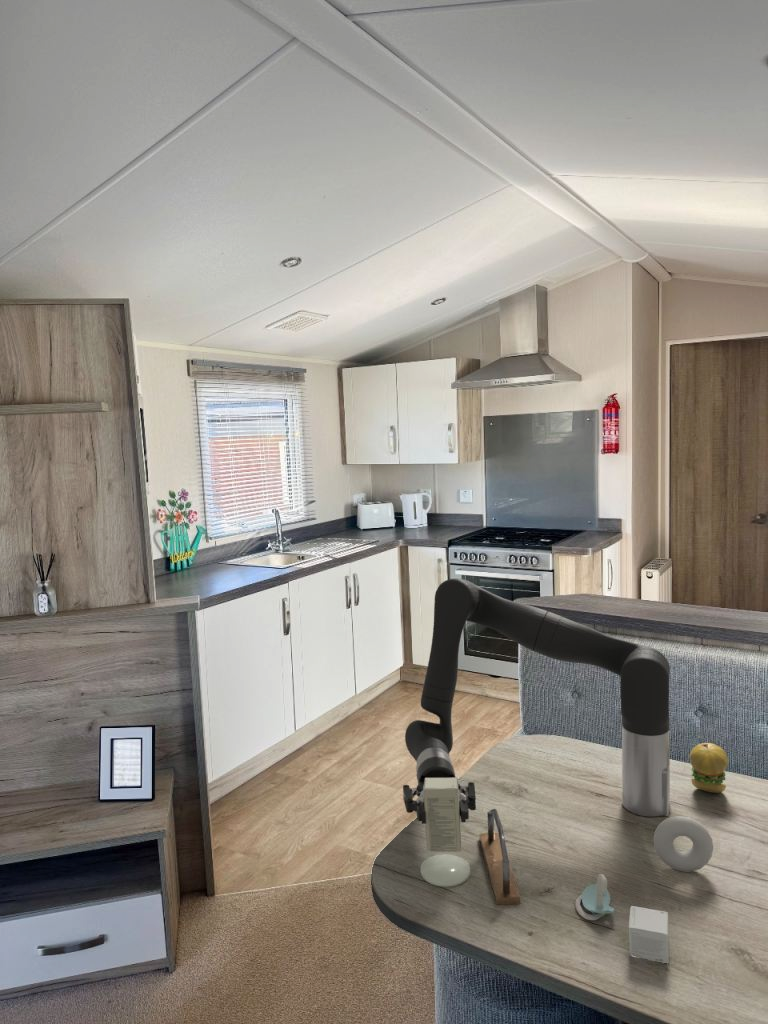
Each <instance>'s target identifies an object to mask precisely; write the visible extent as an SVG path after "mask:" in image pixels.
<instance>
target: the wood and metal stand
mask: <svg viewBox="0 0 768 1024" xmlns="http://www.w3.org/2000/svg"><path fill="white" fill-rule="evenodd" d="M495 825H496V828H497V832H495ZM478 834H479V842H480V847H481V850H482V853H483V857H484V861H485V864H486V869H487V873H488V876H489V880H490V883H491V887H492V890H493V894H494V895H493V896H494V897H495V903H496V905H497V906H498V905H514V904H515V905H517V904H519V905H520V904H521V903H522V902H521V894H520V891H519V889H518V885H517V882H516V881H517V880H516V879H515V876H514V873H513V870H512V866H511V863H510V860H509V856H508V850H507V845H506V839H505V834H504V827H503V825H502V822H501V819H500V816H499V814H498V811H497V809H496V808H492V809H490V810H488V811H487V832H486V833H485V832H484V833H478Z"/></svg>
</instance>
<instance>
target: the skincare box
mask: <svg viewBox="0 0 768 1024" xmlns="http://www.w3.org/2000/svg"><path fill="white" fill-rule="evenodd" d="M455 777H456V776H455ZM458 783H459V777H456V778H453V777H444V778H425V781H424V788H423V789H424V805H425V817H426V824H425V836H426V838H425V839H426V852H428V853H430V852H431V853H440V852H441V853H458V852H459V853H460V852H461V851H462V833H461V831H462V830H461V817H460V809H459V790H458Z"/></svg>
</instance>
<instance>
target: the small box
mask: <svg viewBox="0 0 768 1024" xmlns="http://www.w3.org/2000/svg"><path fill="white" fill-rule="evenodd" d="M628 919H629V921H628V945H629V946H628V949H629V950H628V951H629V952H628V953H629V954H630V955H633V956H636V957H639V958H638V959H640V958H645V959H649V960H648V961H650V960H654V961H653V962H655V961H657V962H656V963H659V962H663V963H662V964H664V963H667V964H666V965H668V964H669V959H670V931H669V929H670V928H669V912H667V911H663V910H658V909H651V908H646V907H641V906H635V905H631V906H630V908H629V917H628ZM630 955H629V956H630ZM645 959H644V960H645Z"/></svg>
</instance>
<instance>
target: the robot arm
mask: <svg viewBox="0 0 768 1024" xmlns="http://www.w3.org/2000/svg"><path fill="white" fill-rule="evenodd" d="M434 593H435V594H434V602H433V603H434V604H433V605H434V606H433V607H434V609H433V628H432V639H431V646H430V651H429V658H428V662H427V667H426V673H425V677H424V681H423V682H424V683H423V688H422V692H421V696H420V697H421V698H420V706H421V708H422V709H423V710H424V711H427V712H429V713H431V714H434V715H435V716H437V717H438V718H439V719H438V720H439V723H437V722H431V721H426V720H421V719H416V720H414V721H412V722H410V723H409V724H408V726H407V727H406V730H405V734H404V741H405V742H404V743H405V746H406V749H407V751H408V752H409V754H410V755H411V756H412V758H413V759H414V760H415V762H416V766H415V769H416V774H415V775H416V776H415V777H416V779H417V786H416V787H413V788H412V787H410V785H408V784H404V785H402V799H403V804H404V806H405V811H406V813H409V814H410V813H411V814H412V813H413V812H415V813H416V817H417V818H416V819H417V821H418V822H421V824H422V825H426V817H425V805H424V789H423V788H424V781H425V778H444V777H453V778H456V773H455V768H454V764H453V761H452V759H451V757H450V753H451V751H452V749H453V745H454V739H453V738H454V737H453V728H452V727H453V726H452V708H453V701H454V697H455V692H456V687H457V681H458V673H459V653H460V652H459V650H460V644H461V643H460V642H461V638H462V634H463V630H464V628H465V624H466V622H471V623H473V624H478V625H481V626H484V627H487V628H489V629H493V630H494V631H497V632H498V633H500V634H502V635H503V636H505V637H506V638H508V639H509V640H511V641H513V642H515V643H517V644H519V645H520V646H522V647H524V648H525V649H528V650H530V651H532V652H535V653H538V654H539V655H542V656H545V657H547V658H550V659H553V660H557V661H561V662H567V663H574V664H584V665H591V666H594V667H598V668H601V669H603V670H606V671H609V672H610V673H613V674H615V675H617V676H620V681H619V683H620V715H621V738H622V739H621V751H622V752H621V753H622V754H621V756H622V757H621V759H622V760H621V761H622V763H621V765H622V766H621V773H622V776H621V777H622V778H621V779H622V780H621V782H622V787H621V788H622V789H621V790H622V791H621V792H622V793H621V795H622V796H621V797H622V800H621V801H622V806H623V807H624V808H625V810H628V812H631V813H632V814H635V815H638V816H642V817H643V816H644V817H653V818H654V817H660V816H665V817H668V816H669V813H670V803H671V801H670V800H671V798H670V797H671V760H670V675H671V672H670V671H671V668H670V663H669V661H668V659H667V657H666V656H665V655H664V654H663V653H662V652H661V651H659V650H658V649H656V648H654V647H651V646H647V645H643V644H639V643H636V642H633V641H629V640H625V639H621V638H617V637H614V636H611V635H608V634H605V633H602V632H601V631H599V630H596V629H593V628H591V627H590V626H589V627H588V626H587V625H584V624H581V623H579V622H577V621H574V620H571V619H570V618H566V617H564V616H562V615H559V614H556V613H553V612H551V611H548V610H546V609H542V608H539V607H535V606H532V605H530V604H525V603H523V602H522V603H521V602H517V601H513V600H510V599H506V598H503V597H501V596H499V595H497V594H495V593H493V592H490V591H489V590H486V589H484V588H482V587H480V586H478V584H477V585H476V584H475V583H473V582H471V581H469V580H467V579H463V578H449V579H446V580H444V581H443V582H441V584H439V585H438V586H437V589H436V591H435V592H434ZM475 787H476V786H475V782H472V781H469V782H467V785H461V784H460V783H459V782H458V790H459V809H460V823H466V822H467V821H466V820H469V818H470V816H469V815H470V814H469V812H470V811H469V810H471V811H475V810H477V806H476V802H477V801H476V799H477V798H476V797H477V796H476V788H475ZM462 794H463V795H462ZM415 796H417V798H416V799H415V800H414V799H413V798H415Z"/></svg>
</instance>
